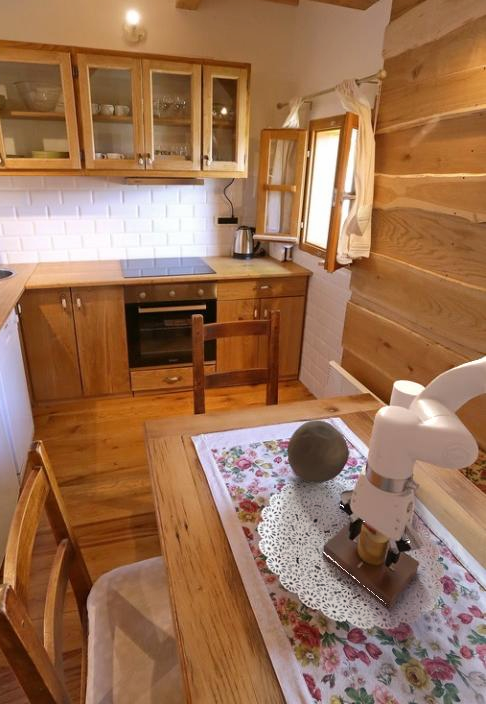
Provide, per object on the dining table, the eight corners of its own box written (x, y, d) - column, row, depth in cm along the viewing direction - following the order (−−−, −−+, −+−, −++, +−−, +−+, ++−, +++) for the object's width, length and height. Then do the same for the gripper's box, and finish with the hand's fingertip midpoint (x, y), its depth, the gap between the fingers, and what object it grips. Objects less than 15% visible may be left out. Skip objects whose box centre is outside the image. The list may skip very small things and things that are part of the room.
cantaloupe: (296, 500, 95) (302, 447, 90) (278, 460, 108) (283, 412, 103) (352, 495, 97) (362, 442, 92) (328, 456, 110) (335, 408, 105)
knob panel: (416, 573, 78) (419, 561, 77) (388, 610, 71) (391, 598, 70) (352, 527, 88) (354, 516, 87) (322, 556, 81) (323, 544, 80)
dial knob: (389, 554, 78) (394, 531, 76) (376, 570, 75) (381, 546, 73) (365, 538, 82) (370, 515, 80) (352, 551, 79) (356, 529, 77)
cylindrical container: (408, 470, 106) (428, 385, 98) (404, 487, 100) (424, 398, 92) (380, 460, 109) (396, 377, 101) (374, 475, 104) (391, 389, 95)
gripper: (447, 491, 68) (425, 569, 74) (355, 441, 81) (343, 512, 87) (428, 513, 64) (407, 594, 70) (333, 457, 76) (322, 530, 82)
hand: (371, 548), depth 78 cm, fingers open, 6 cm apart
